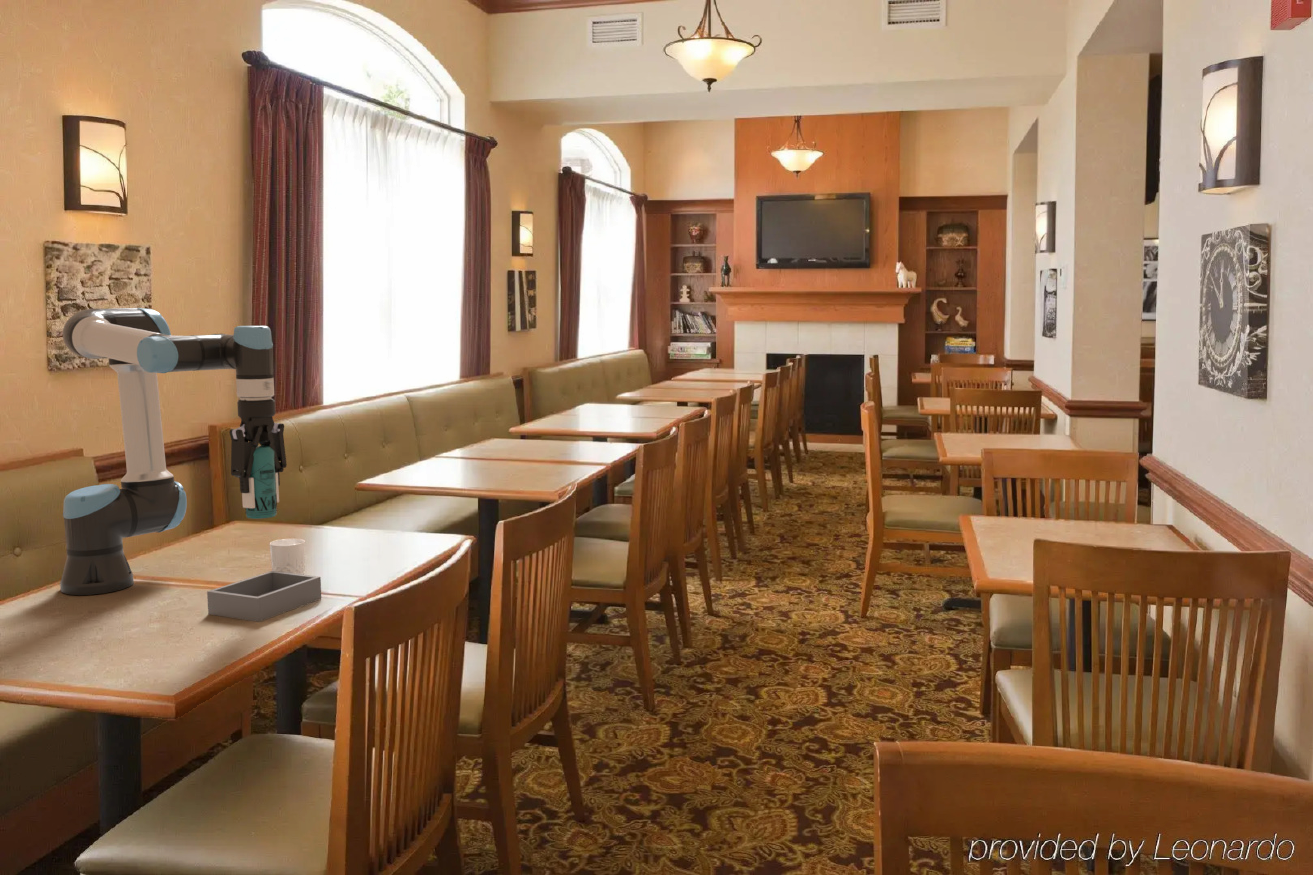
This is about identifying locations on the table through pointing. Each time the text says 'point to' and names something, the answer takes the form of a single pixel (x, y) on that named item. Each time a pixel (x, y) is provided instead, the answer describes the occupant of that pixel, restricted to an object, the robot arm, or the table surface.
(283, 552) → the white cup
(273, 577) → the trough tray
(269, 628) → the table surface
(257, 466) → the beverage bottle
